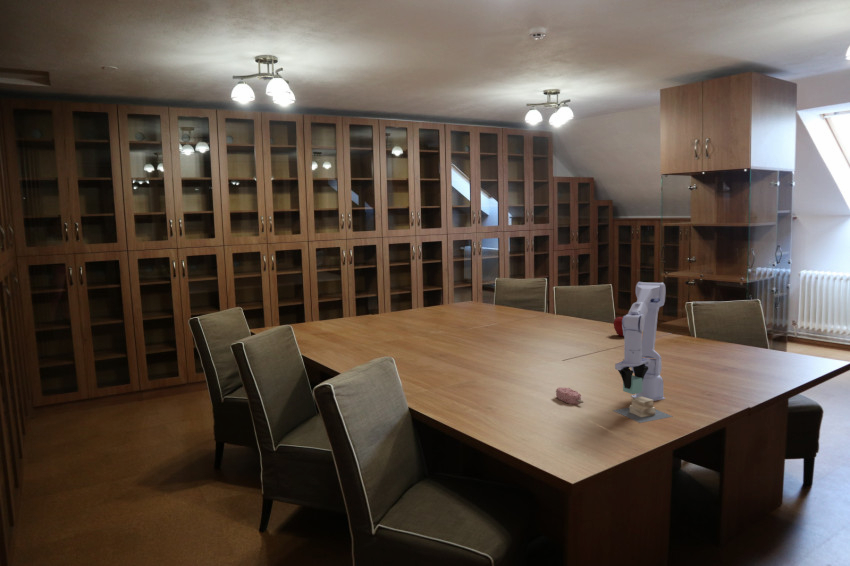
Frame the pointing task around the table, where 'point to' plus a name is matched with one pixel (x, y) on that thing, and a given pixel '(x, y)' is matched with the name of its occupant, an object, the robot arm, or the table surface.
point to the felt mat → (642, 419)
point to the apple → (618, 326)
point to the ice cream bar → (568, 396)
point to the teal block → (634, 385)
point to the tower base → (642, 411)
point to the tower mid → (642, 402)
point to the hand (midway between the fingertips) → (632, 387)
